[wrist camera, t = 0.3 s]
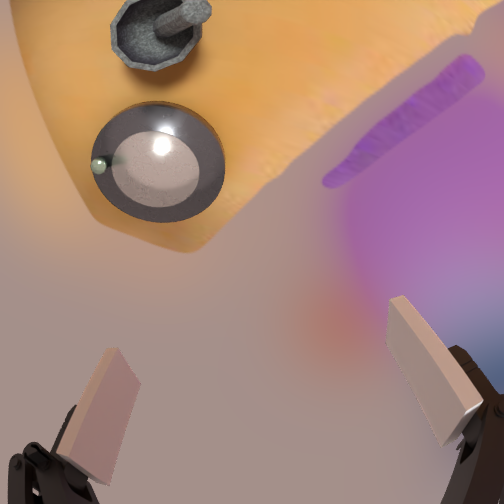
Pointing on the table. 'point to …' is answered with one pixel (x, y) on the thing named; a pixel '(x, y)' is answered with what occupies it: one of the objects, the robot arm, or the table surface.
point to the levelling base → (159, 162)
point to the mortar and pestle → (157, 31)
